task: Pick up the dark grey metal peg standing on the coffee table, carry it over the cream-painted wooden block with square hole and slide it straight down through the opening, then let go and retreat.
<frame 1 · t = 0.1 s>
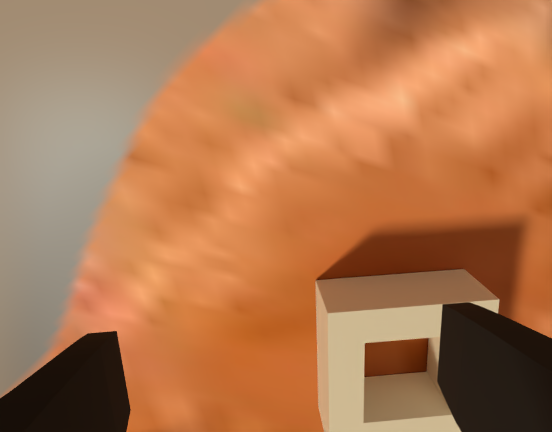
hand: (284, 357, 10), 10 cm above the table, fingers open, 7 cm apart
block with square hole: (388, 340, 22), on the table
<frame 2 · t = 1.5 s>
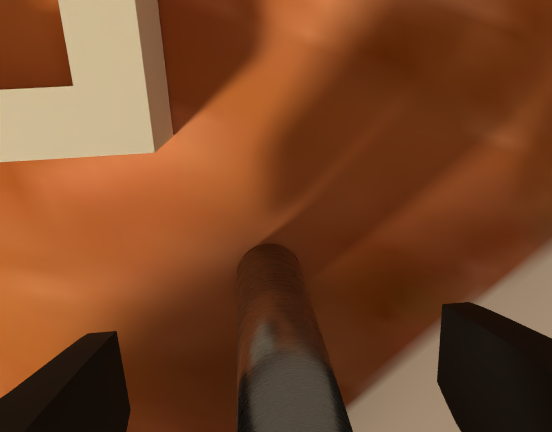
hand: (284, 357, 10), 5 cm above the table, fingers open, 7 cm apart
metal peg: (268, 273, 14), on the table
block with square hole: (20, 7, 12), on the table
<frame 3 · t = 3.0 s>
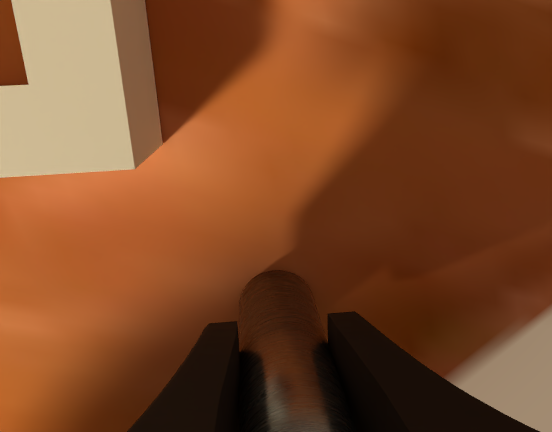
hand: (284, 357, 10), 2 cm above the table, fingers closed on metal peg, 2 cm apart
metal peg: (276, 304, 12), on the table, touching gripper
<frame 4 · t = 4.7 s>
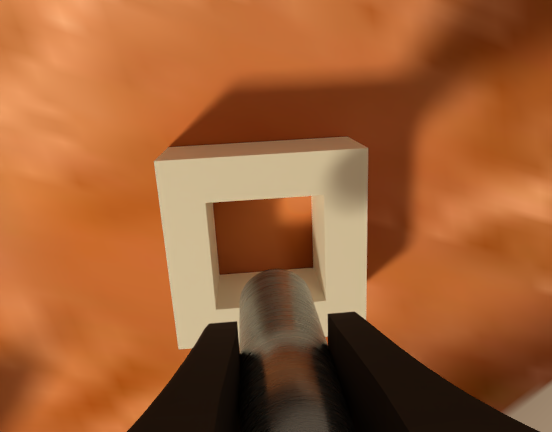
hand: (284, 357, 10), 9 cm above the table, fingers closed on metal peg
metal peg: (275, 302, 12), point 6 cm above the table, touching gripper
block with square hole: (264, 226, 19), on the table
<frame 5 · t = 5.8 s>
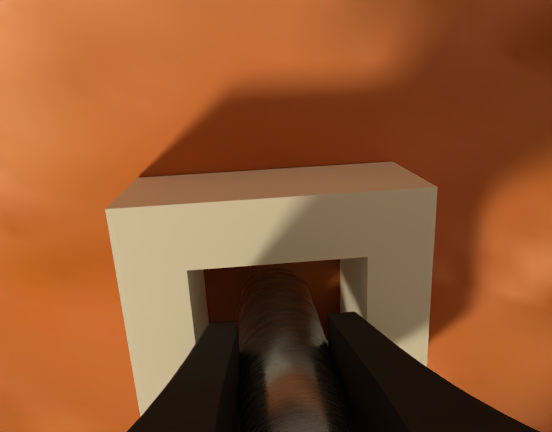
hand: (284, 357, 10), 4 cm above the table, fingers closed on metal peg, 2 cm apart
metal peg: (275, 301, 12), point 1 cm above the table, touching gripper
block with square hole: (273, 285, 13), on the table
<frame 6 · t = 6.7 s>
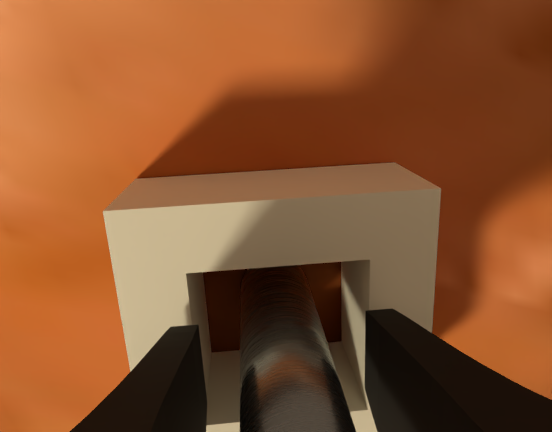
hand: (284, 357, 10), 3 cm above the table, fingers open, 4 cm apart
metal peg: (274, 289, 13), resting in block with square hole
block with square hole: (273, 287, 13), on the table
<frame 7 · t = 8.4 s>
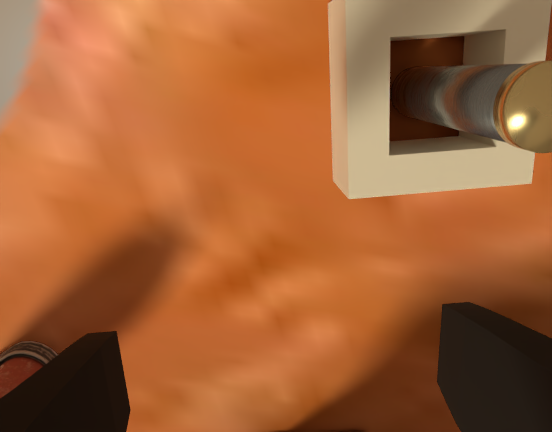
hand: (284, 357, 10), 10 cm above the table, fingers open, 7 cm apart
metal peg: (414, 92, 19), resting in block with square hole
lighter: (0, 398, 22), on the table
block with square hole: (414, 91, 19), on the table
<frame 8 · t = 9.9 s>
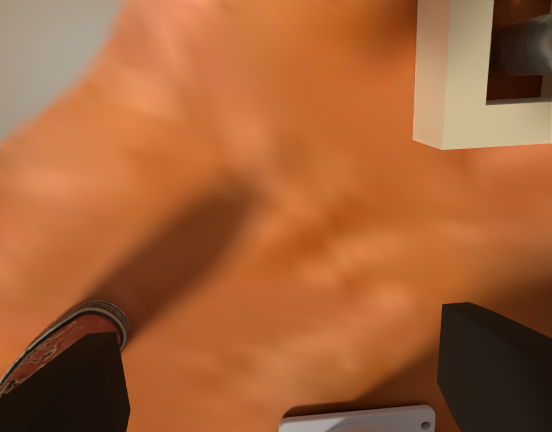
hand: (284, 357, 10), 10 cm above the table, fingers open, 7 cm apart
metal peg: (499, 50, 19), resting in block with square hole
lighter: (63, 360, 21), on the table
block with square hole: (499, 49, 19), on the table
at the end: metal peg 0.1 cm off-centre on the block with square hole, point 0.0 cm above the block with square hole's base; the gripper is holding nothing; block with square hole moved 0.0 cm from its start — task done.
